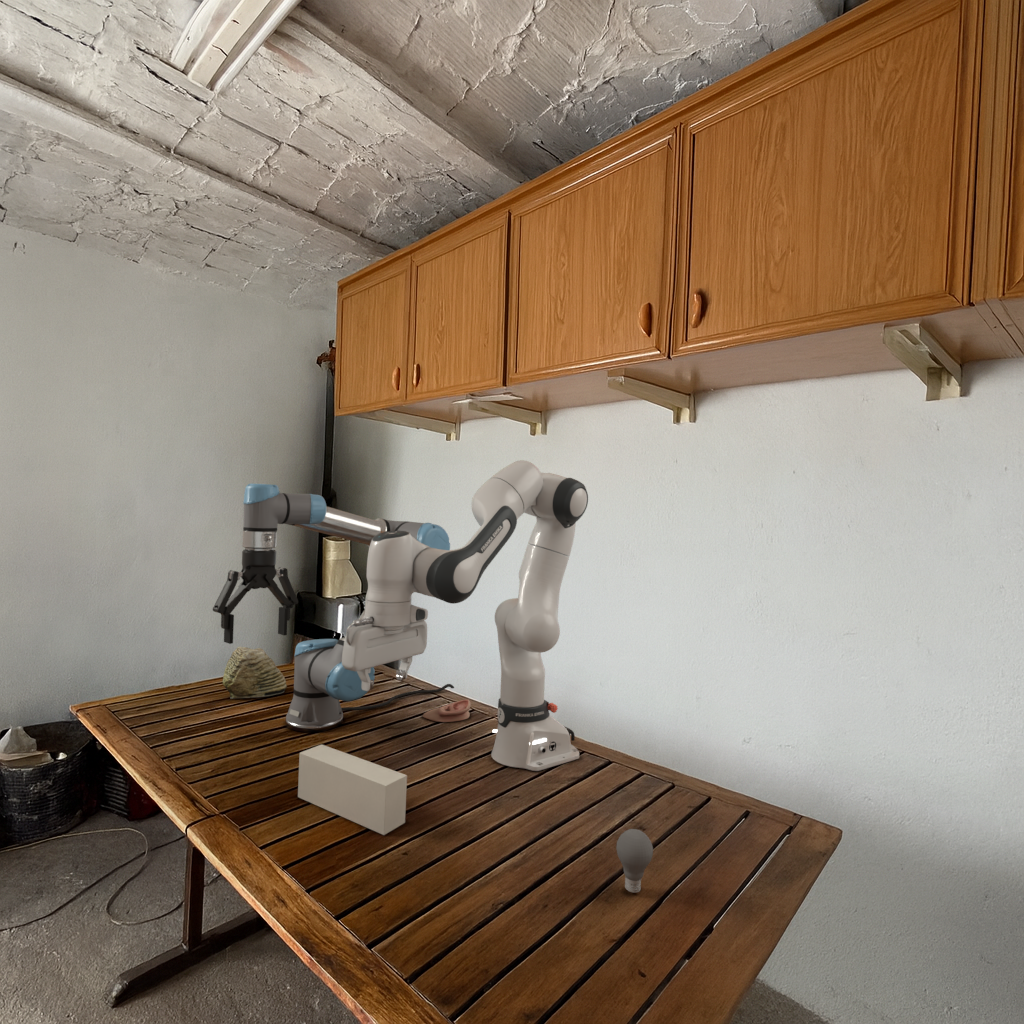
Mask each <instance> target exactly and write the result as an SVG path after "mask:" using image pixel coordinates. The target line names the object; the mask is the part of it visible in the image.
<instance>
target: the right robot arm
mask: <svg viewBox="0 0 1024 1024" xmlns="http://www.w3.org/2000/svg"><path fill="white" fill-rule="evenodd" d="M588 504H589V494H588V491H587V487H586V486H585V484H584V483H583V482H581V481H579V480H577V479H576V478H573V477H565V476H562V475H561V474H560V475H559V474H557V473H556V474H555V473H551V472H541V471H540V469H539V468H538V467H537V466H536V464H534V463H532V462H531V461H529V460H523V459H521V460H515V461H513V462H511V463H510V464H508V465H506V466H505V467H503V468H502V469H500V470H498V472H496V473H495V474H493V475H492V476H491V477H490V478H488V479H487V480H486V481H485V482H484V483H483V484H482V485H480V487H479V488H478V489H477V490H476V491H475V493H474V494H473V496H472V498H471V511H472V514H473V517H474V519H475V520H476V521H475V522H477V524H478V525H479V526H480V527H479V528H478V529H477V531H476V532H475V533H474V534H473V535H472V536H471V538H470V539H469V540H468V541H467V542H466V544H464V545H463V546H462V547H460V548H455V549H450V550H441V549H436V548H430V547H429V546H427V545H424V544H422V543H420V542H419V541H417V540H416V539H414V538H413V537H412V536H411V535H410V533H409V532H406V531H388V532H383V533H380V534H377V535H376V536H375V537H373V539H372V541H371V543H370V547H368V551H367V552H368V553H367V559H366V580H367V591H366V594H365V600H364V601H365V605H364V610H365V618H364V619H361V620H359V618H357V619H354V620H353V621H352V623H350V624H349V625H348V627H346V631H345V633H346V634H345V636H344V637H345V641H344V647H343V654H342V665H343V667H344V668H345V669H347V670H351V671H357V673H358V675H359V677H360V679H361V681H362V687H361V688H362V690H364V691H368V692H369V691H372V690H374V689H375V687H374V685H375V680H374V681H373V680H370V677H369V675H368V673H370V672H371V667H374V668H375V667H378V666H382V665H386V664H389V663H393V662H397V661H401V662H400V665H399V668H398V669H396V670H395V678H396V680H397V681H404V680H407V679H408V671H409V670H410V667H411V665H412V662H413V657H415V656H419V655H423V654H424V653H425V651H426V649H427V643H428V624H427V622H426V620H427V619H428V617H429V610H428V609H427V608H424V607H420V606H416V605H414V604H412V595H413V594H414V593H417V594H421V595H424V596H427V597H432V598H436V599H438V600H440V601H443V602H445V603H448V604H454V605H455V604H459V603H462V602H464V601H466V600H467V599H468V598H470V596H471V595H472V594H473V593H474V591H475V590H476V588H477V586H478V584H479V582H480V580H481V578H482V576H483V574H484V572H485V571H486V570H487V568H488V567H489V565H490V564H491V563H492V561H494V559H495V558H496V556H497V555H498V554H499V552H500V551H501V550H502V548H504V546H505V545H506V543H507V542H508V541H509V540H510V538H511V537H512V535H513V533H514V532H515V530H516V527H517V523H518V520H519V518H521V516H523V514H527V515H529V516H532V517H535V518H536V521H535V523H534V526H533V528H532V531H531V533H530V536H529V539H528V542H527V545H526V548H525V551H524V554H523V558H522V561H521V564H520V567H519V571H518V580H519V582H518V583H519V586H518V596H517V597H515V598H508V599H505V600H503V601H502V602H500V603H499V604H498V606H497V607H496V609H495V612H494V622H495V625H496V632H497V641H498V642H497V643H498V650H499V660H500V693H499V699H498V700H497V701H498V702H497V729H492V733H496V735H495V740H494V744H493V748H492V749H491V753H490V756H491V758H492V760H494V761H495V762H496V763H498V764H501V765H503V766H506V767H511V768H519V769H526V770H529V771H533V772H540V771H542V770H547V769H549V768H552V767H556V766H559V765H563V764H565V763H568V762H569V763H570V762H572V761H576V760H578V759H580V751H579V749H578V748H577V747H576V746H575V745H574V744H572V743H571V742H574V741H575V737H576V736H575V733H574V732H575V731H573V730H572V729H571V728H569V727H567V726H565V725H563V724H562V723H561V722H559V721H558V720H557V719H555V718H554V717H553V715H551V714H550V712H551V713H552V714H553V713H554V714H556V712H557V711H558V709H559V708H558V705H557V704H555V703H554V702H549V701H547V700H545V686H546V669H545V666H544V663H543V659H542V654H541V653H546V652H548V651H550V650H552V649H553V648H554V647H555V646H556V645H557V643H558V641H559V639H560V636H561V635H560V633H561V629H560V628H561V627H560V624H559V620H558V616H559V604H560V593H561V587H562V583H563V580H564V576H565V574H566V570H567V567H568V563H569V560H570V557H571V553H572V549H573V545H574V540H575V533H576V524H577V522H578V521H579V520H580V519H581V518H582V517H583V515H584V514H585V512H586V510H587V508H588Z"/></svg>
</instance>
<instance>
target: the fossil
mask: <svg viewBox="0 0 1024 1024" xmlns="http://www.w3.org/2000/svg"><path fill="white" fill-rule="evenodd" d="M222 676H223V677H222V685H223V687H224V688H225V690H226V691H228V693H229V698H230V699H250V698H264V697H271V696H275V695H281V694H284V693H285V691H286V689H287V687H288V686H287V680H286V678H285V676H284V674H283V673H282V672H281V669H279V668H278V667H277V665H276V663H275V662H274V660H273V659H272V658H271V657H270V656H269V655H268V654H267V653H266V652H265V650H264V649H263V648H260V647H258V648H251V647H247V646H246V647H245V646H238V647H237V648H236V649H235V650H233V651H232V653H231V656H230V657H229V659H228V660H227V663H226V666H225V668H224V671H223V675H222Z"/></svg>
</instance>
